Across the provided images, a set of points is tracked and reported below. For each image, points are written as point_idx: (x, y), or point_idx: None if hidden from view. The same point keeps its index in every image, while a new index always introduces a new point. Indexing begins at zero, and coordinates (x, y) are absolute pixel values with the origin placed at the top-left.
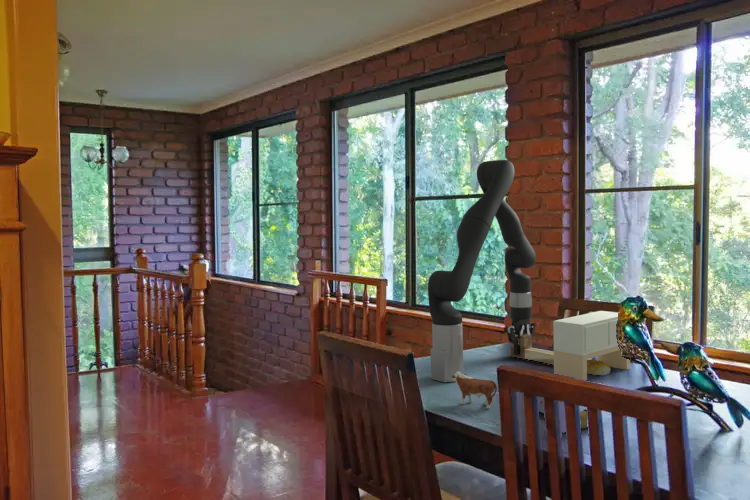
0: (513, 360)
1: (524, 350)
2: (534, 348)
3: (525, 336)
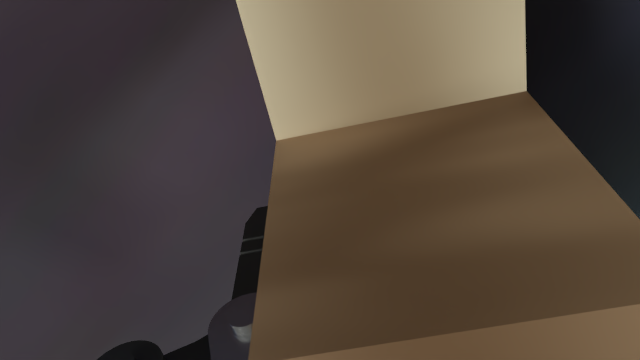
0: (635, 82)
1: (520, 85)
2: (283, 48)
3: (625, 299)
